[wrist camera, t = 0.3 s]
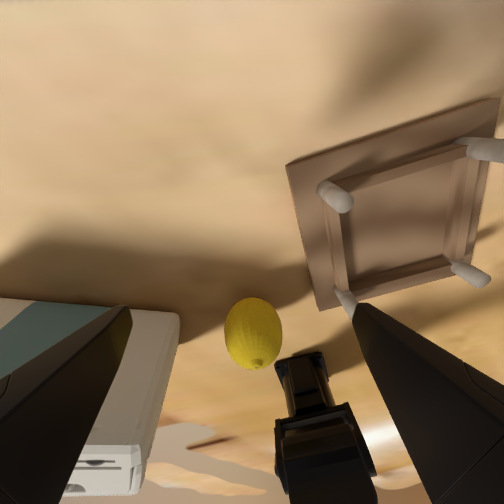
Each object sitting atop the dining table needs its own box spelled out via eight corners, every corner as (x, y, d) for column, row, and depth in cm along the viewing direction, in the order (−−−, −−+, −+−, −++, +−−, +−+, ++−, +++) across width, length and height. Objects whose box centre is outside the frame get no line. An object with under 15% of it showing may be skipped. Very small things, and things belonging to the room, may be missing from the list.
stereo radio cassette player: (183, 302, 26) (74, 678, 8) (181, 352, 30) (102, 683, 12) (-36, 282, 23) (-889, 786, 6) (-8, 341, 27) (-460, 748, 9)
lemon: (215, 297, 26) (208, 363, 19) (259, 273, 25) (268, 334, 18) (243, 327, 28) (246, 395, 21) (284, 307, 27) (301, 372, 20)
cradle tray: (461, 266, 26) (507, 296, 21) (316, 305, 27) (332, 340, 23) (487, 98, 18) (568, 90, 14) (285, 165, 20) (299, 178, 15)
